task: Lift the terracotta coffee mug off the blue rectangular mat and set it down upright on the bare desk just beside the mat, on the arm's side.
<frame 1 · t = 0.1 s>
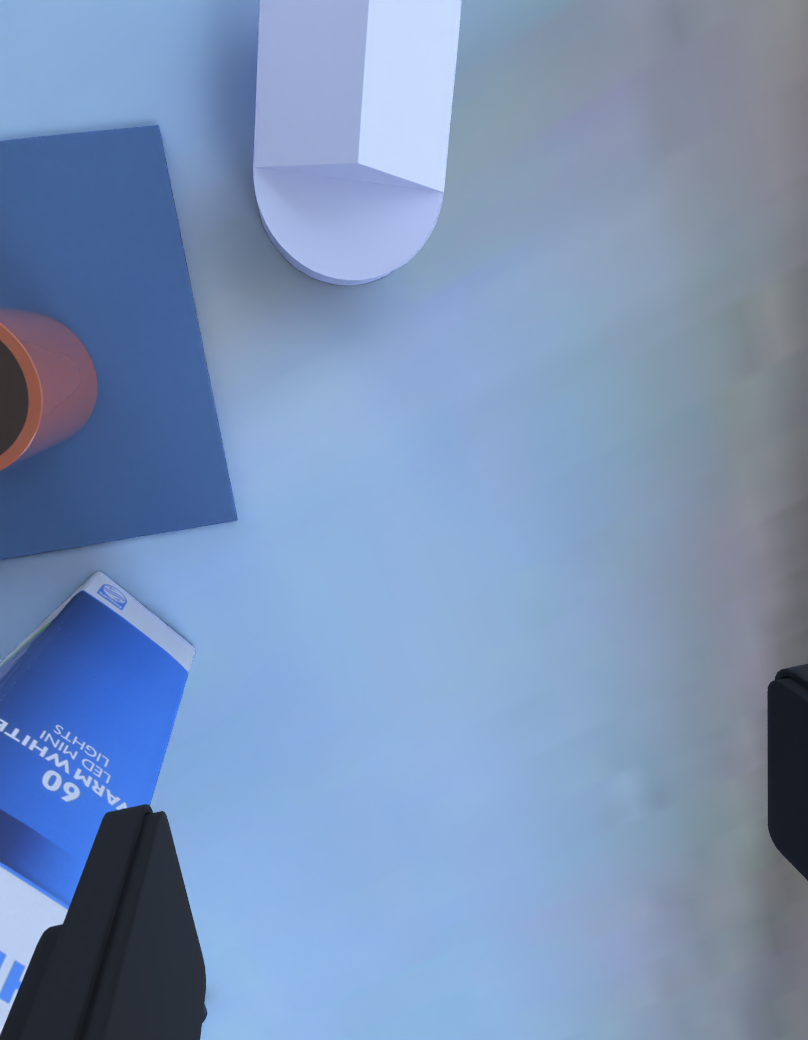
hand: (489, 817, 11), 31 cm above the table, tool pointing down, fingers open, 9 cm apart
mug: (24, 380, 37), resting on blue rectangular mat
blue rectangular mat: (42, 357, 37), on the table
wedge on round base: (347, 152, 37), on the table
string lights box: (71, 684, 41), on the table
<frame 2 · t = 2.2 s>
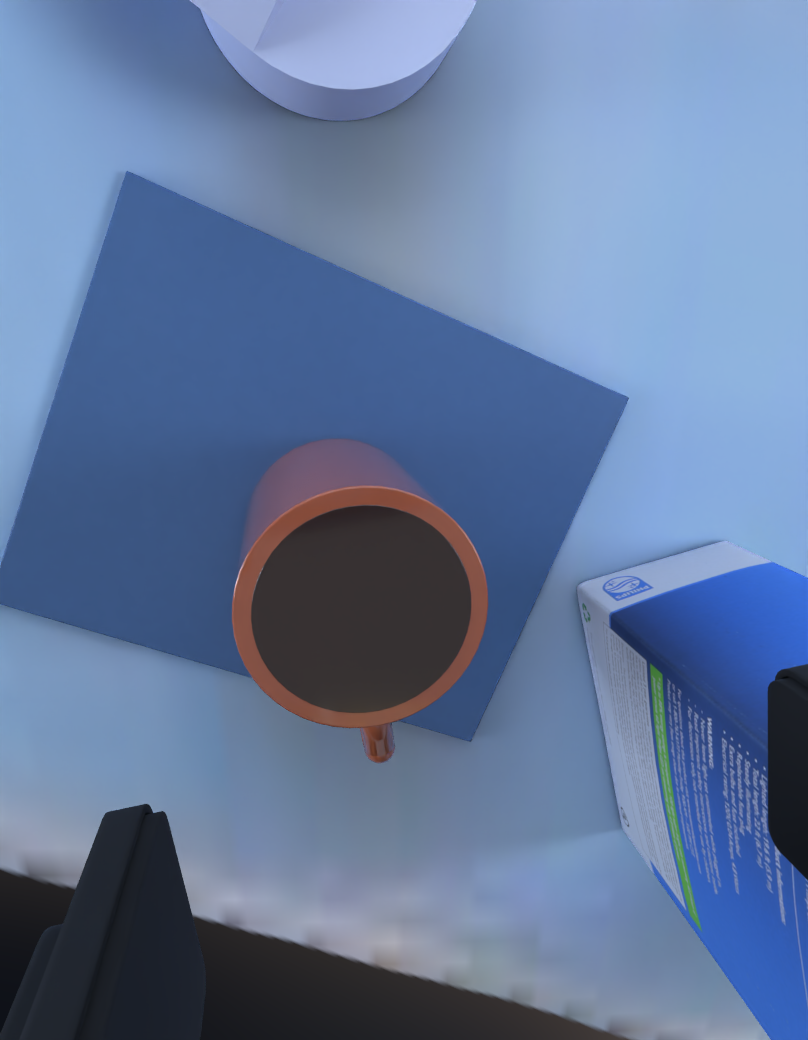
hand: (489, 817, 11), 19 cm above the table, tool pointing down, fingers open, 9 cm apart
mug: (337, 527, 28), resting on blue rectangular mat
blue rectangular mat: (321, 493, 28), on the table
string lights box: (665, 687, 33), on the table
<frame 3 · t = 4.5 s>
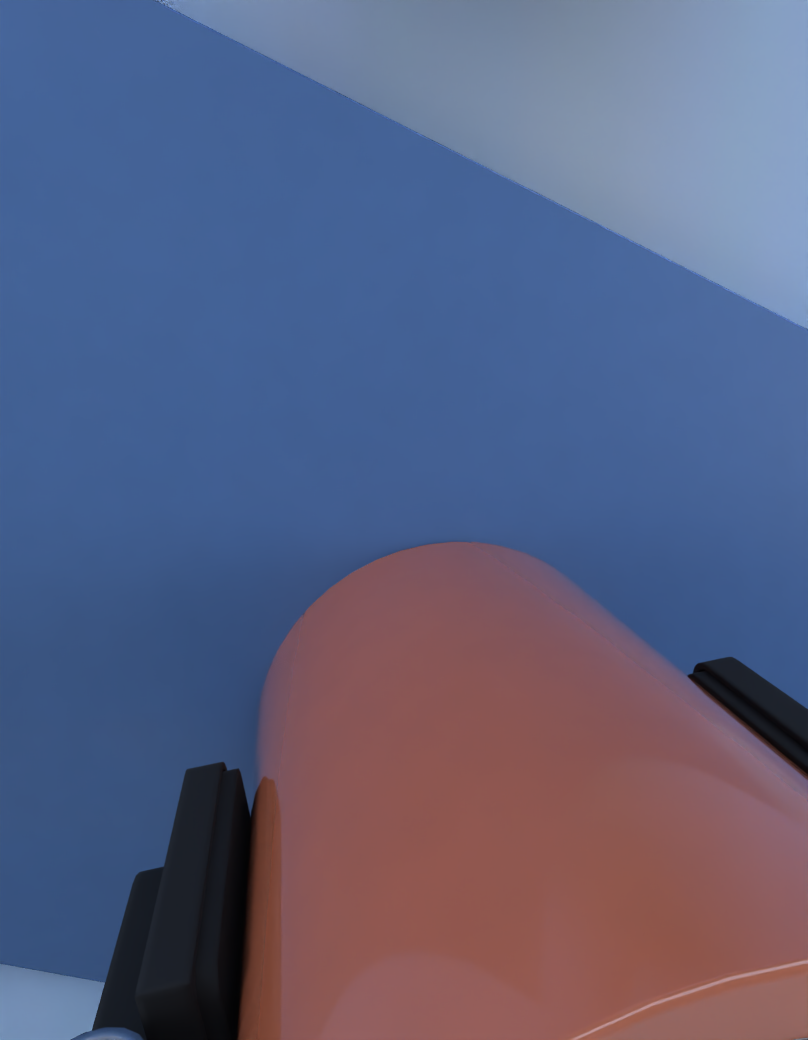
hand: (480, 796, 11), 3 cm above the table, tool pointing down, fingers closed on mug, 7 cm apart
mug: (448, 721, 14), resting on blue rectangular mat, touching gripper
blue rectangular mat: (416, 651, 13), on the table
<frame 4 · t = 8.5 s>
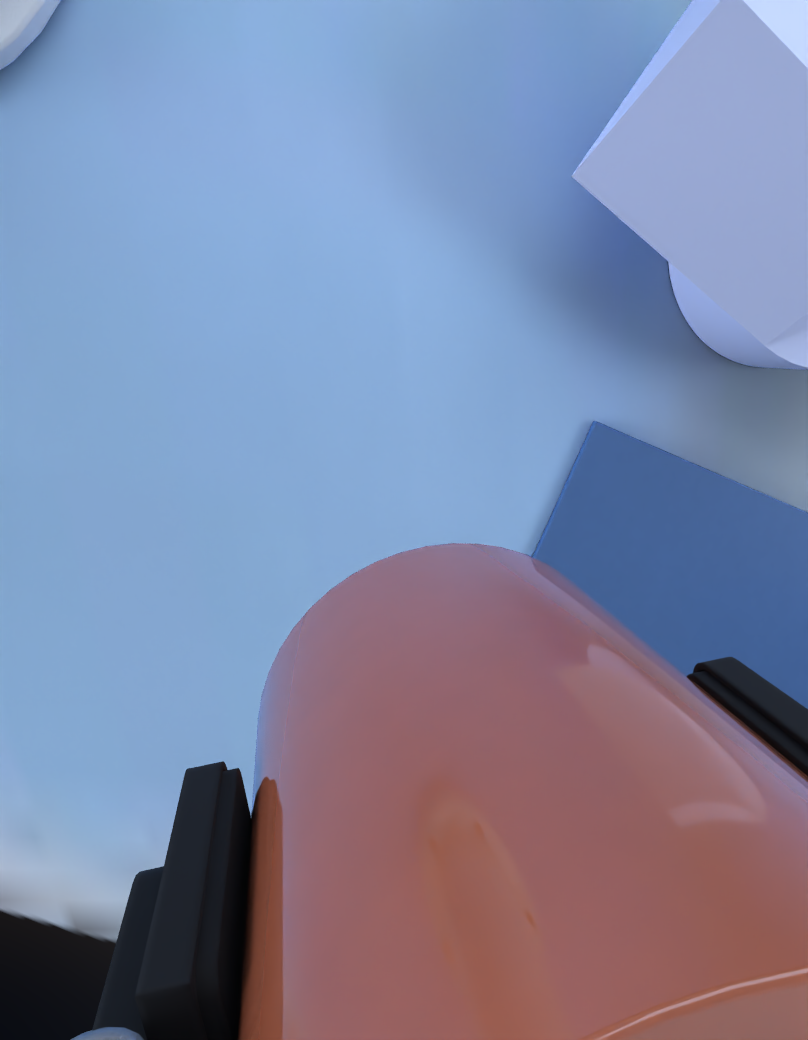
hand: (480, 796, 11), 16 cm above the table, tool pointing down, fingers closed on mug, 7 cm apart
mug: (448, 723, 13), point 14 cm above the table, touching gripper
blue rectangular mat: (715, 684, 31), on the table
wedge on round base: (742, 208, 26), on the table
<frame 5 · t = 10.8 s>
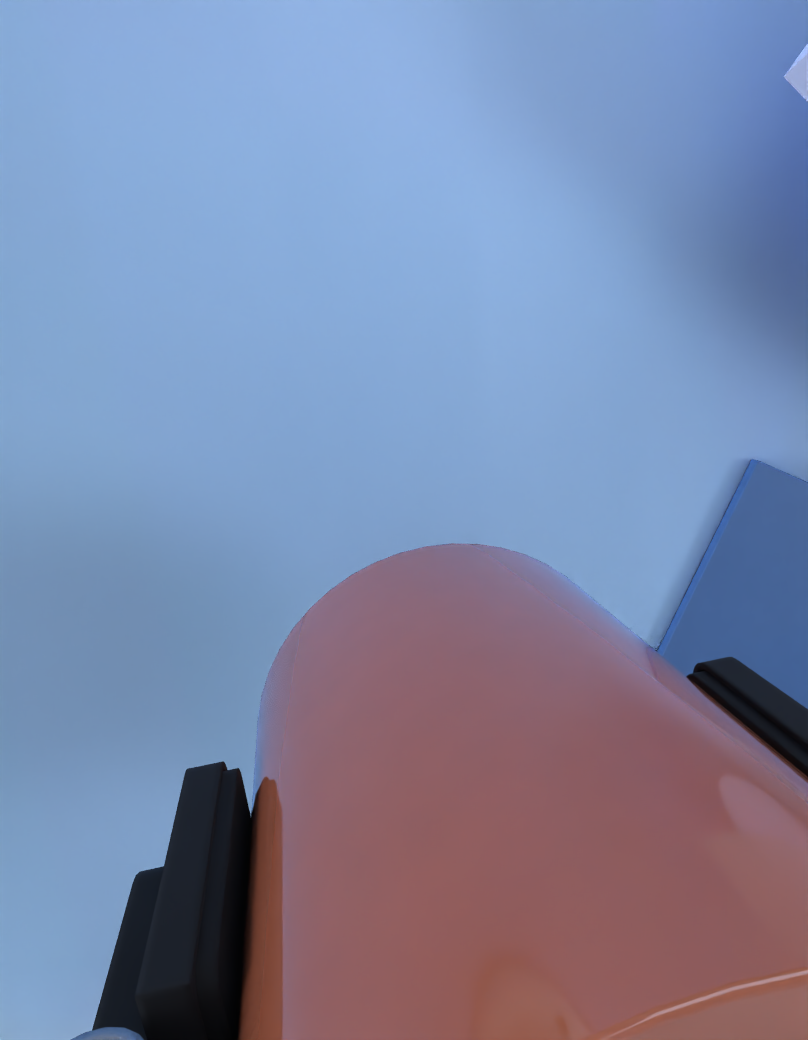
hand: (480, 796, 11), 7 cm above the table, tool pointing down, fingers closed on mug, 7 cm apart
mug: (448, 723, 13), point 5 cm above the table, touching gripper
when the fingers open (2 cm above the table, at t = 12.7 s): mug stays where it is, on the table.
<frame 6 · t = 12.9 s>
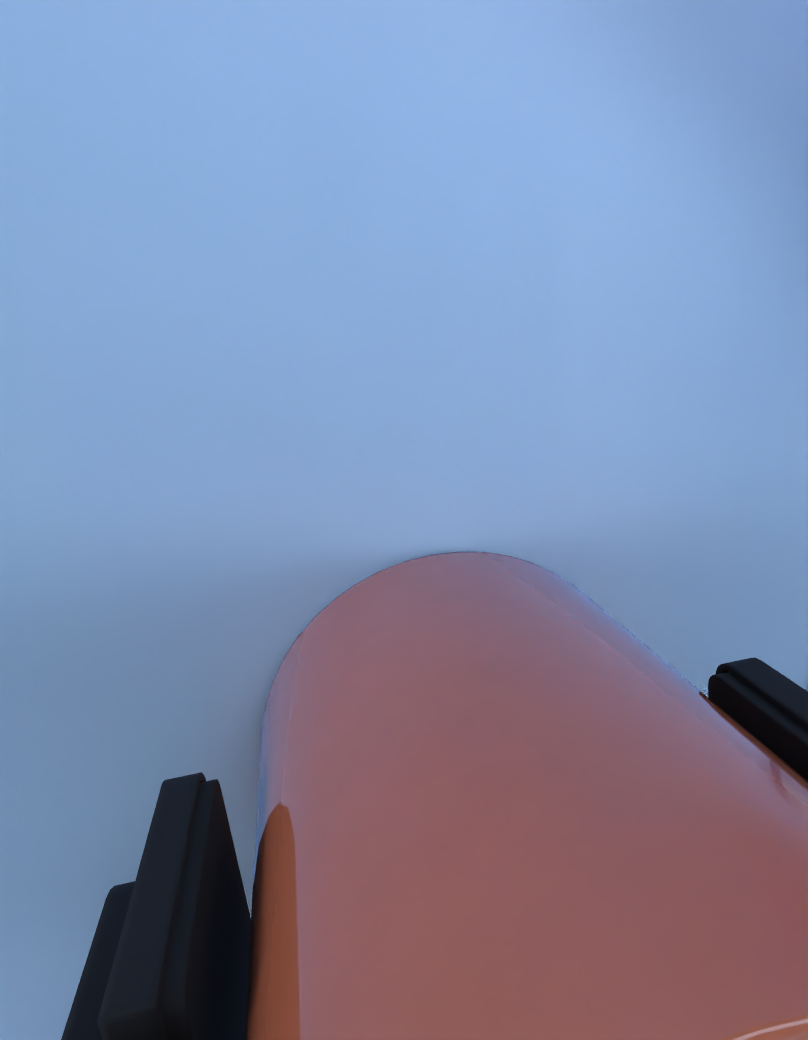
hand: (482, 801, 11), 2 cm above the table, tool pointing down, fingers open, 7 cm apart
mug: (454, 733, 13), on the table
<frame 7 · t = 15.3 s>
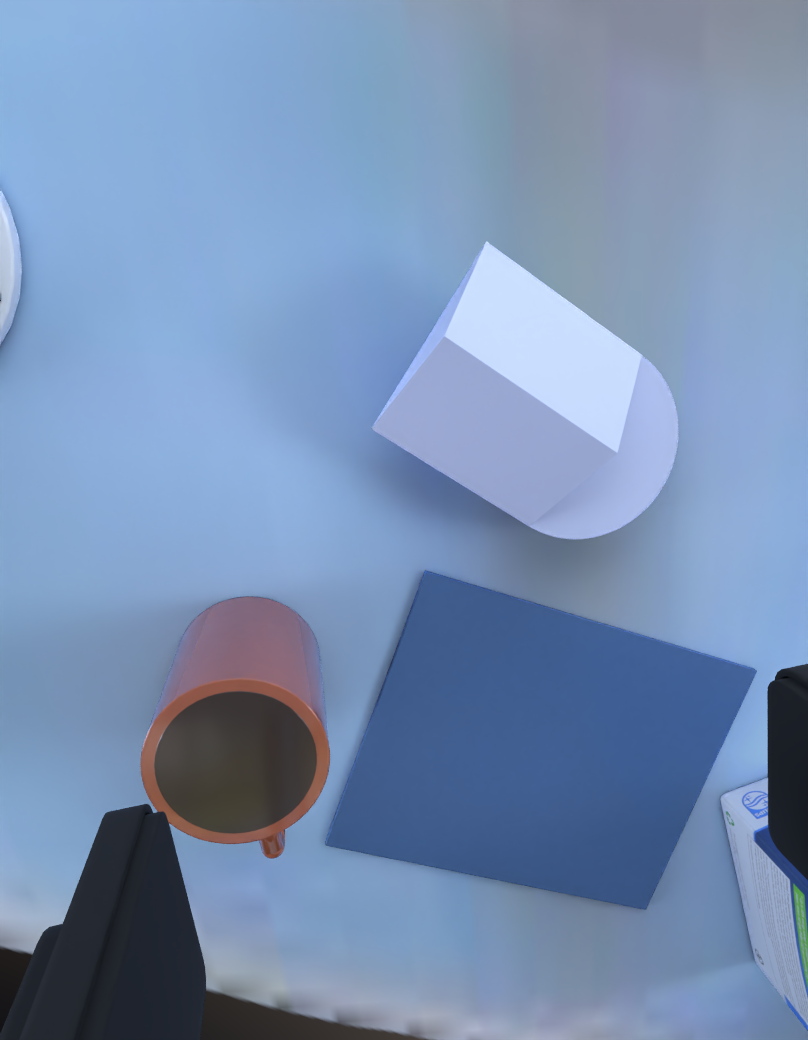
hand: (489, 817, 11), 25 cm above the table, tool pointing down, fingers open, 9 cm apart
mug: (249, 662, 36), on the table
blue rectangular mat: (544, 753, 40), on the table
wedge on round base: (524, 411, 35), on the table
string lights box: (784, 858, 45), on the table
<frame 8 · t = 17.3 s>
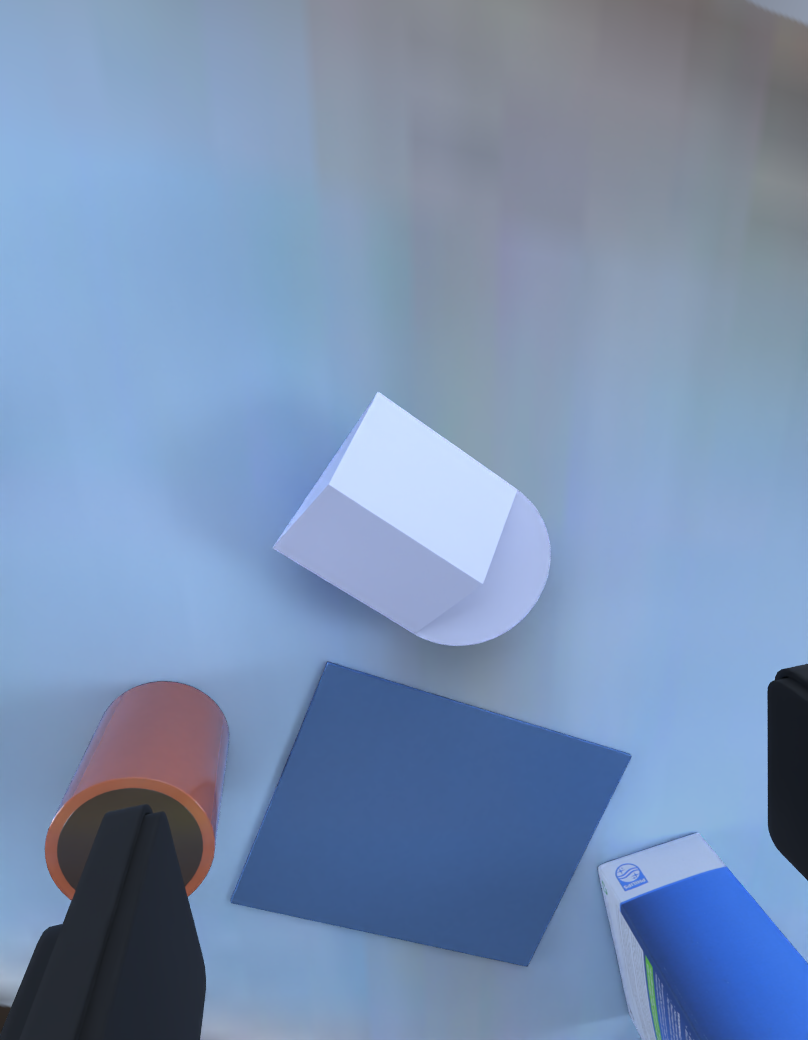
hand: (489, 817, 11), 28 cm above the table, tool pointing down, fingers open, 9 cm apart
mug: (164, 739, 40), on the table
blue rectangular mat: (435, 824, 44), on the table
wedge on round base: (420, 524, 39), on the table
string lights box: (658, 922, 49), on the table
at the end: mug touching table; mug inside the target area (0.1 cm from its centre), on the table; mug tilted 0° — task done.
